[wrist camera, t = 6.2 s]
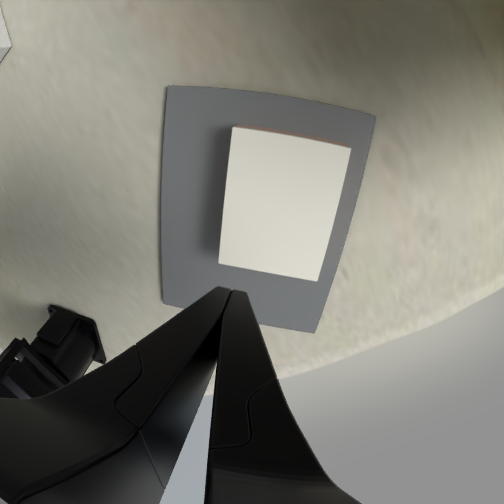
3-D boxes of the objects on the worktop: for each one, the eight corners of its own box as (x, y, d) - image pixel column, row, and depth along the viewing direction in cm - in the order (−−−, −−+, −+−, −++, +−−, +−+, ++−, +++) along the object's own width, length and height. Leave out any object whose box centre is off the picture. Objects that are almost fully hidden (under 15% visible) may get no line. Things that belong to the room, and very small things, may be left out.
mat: (314, 329, 23) (314, 333, 22) (165, 300, 23) (163, 303, 23) (374, 115, 15) (376, 116, 15) (170, 85, 16) (167, 85, 15)
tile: (225, 247, 20) (315, 264, 20) (218, 263, 18) (317, 281, 18) (239, 124, 16) (345, 143, 16) (232, 127, 14) (351, 148, 14)
